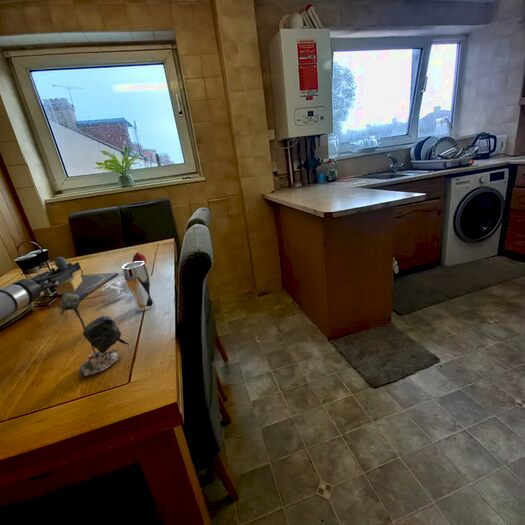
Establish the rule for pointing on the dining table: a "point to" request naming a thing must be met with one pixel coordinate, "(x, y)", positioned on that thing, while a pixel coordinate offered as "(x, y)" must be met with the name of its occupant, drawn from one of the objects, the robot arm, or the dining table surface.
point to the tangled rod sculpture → (116, 288)
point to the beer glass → (139, 284)
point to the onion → (139, 257)
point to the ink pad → (80, 295)
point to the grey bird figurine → (96, 338)
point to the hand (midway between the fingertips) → (75, 265)
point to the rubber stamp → (72, 282)
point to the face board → (92, 282)
